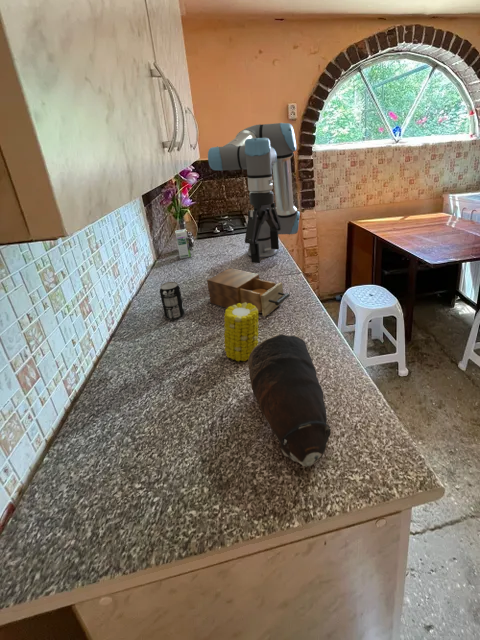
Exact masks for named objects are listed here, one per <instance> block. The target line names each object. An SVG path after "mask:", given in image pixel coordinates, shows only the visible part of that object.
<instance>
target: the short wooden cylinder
mask: <svg viewBox="0 0 480 640" xmlns="http://www.w3.org/2000/svg"><path fill="white" fill-rule="evenodd" d="M266 291H267V290H265V289H256V290H253V292H257V293H260V296H261V295H262V294H264V293H265V292H266ZM261 306H262V303H261Z"/></svg>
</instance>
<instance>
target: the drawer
mask: <svg viewBox="0 0 480 640" xmlns="http://www.w3.org/2000/svg"><path fill="white" fill-rule="evenodd" d="M256 289H265V290H267V291H266V292H265V293H264V294H262V295H261V296H260V293H257V292H253V290H256ZM239 296H240V303H241V304H242V303H245V302H246V303H247V304H248V303H251V304H252V305H254V306H256V308H257V309H258V314H262V317H264V318H265V317H266V318H267V316H268V315H270V314H271V313H272V312H273V311H274V310H276V309H277V308H278V307H279V306H280V305H282V304H283V303H284V302H285V301H286V300H287V299H288V298H290V296H291V295H290V293H289V292H286V293H285V292H284V288H283V282H279V281H278V283H276V282H274V281H269V280H265V279H262V278H259V279H257V278H256V279H254V280H252V281H251V282H249V283H248V284H246V285H244V286H243V287H241V288H239ZM261 303H262V306H261Z"/></svg>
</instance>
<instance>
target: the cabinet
mask: <svg viewBox="0 0 480 640" xmlns="http://www.w3.org/2000/svg"><path fill="white" fill-rule="evenodd" d="M256 278H257V279H260V274H258V273H254V272H250V271H245V270H241V269H236V268H232V267H229V268H227V269H225V270H223V271H221V272H219V273H217V274H215V275H213V276H212V277H210V278H208V279H206V282H207V289H208V297H209V302H210V304H213V305H215V306H216V305H217V306H220V307H222V308H226V309H227V308H228V307H230V306H233V305H237V304H238V303H240V296H239V288H241V287H243V286H244V285H246V284H248V283H249V282H251V281H252V280H254V279H256Z"/></svg>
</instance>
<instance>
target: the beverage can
mask: <svg viewBox="0 0 480 640" xmlns="http://www.w3.org/2000/svg"><path fill="white" fill-rule="evenodd" d="M159 295H160V300H161V304H162V309H163V314H164V317H165V318H166V319H167V320H172V321H173V320H177V319H178V320H179V319H180V318H182V317H183V315H184V314H185V308H184V302H183V297H182V293H181V287H180V285H179V284H178V282H177V281H167V282H164V283H162V284H161V285H160V286H159Z"/></svg>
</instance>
